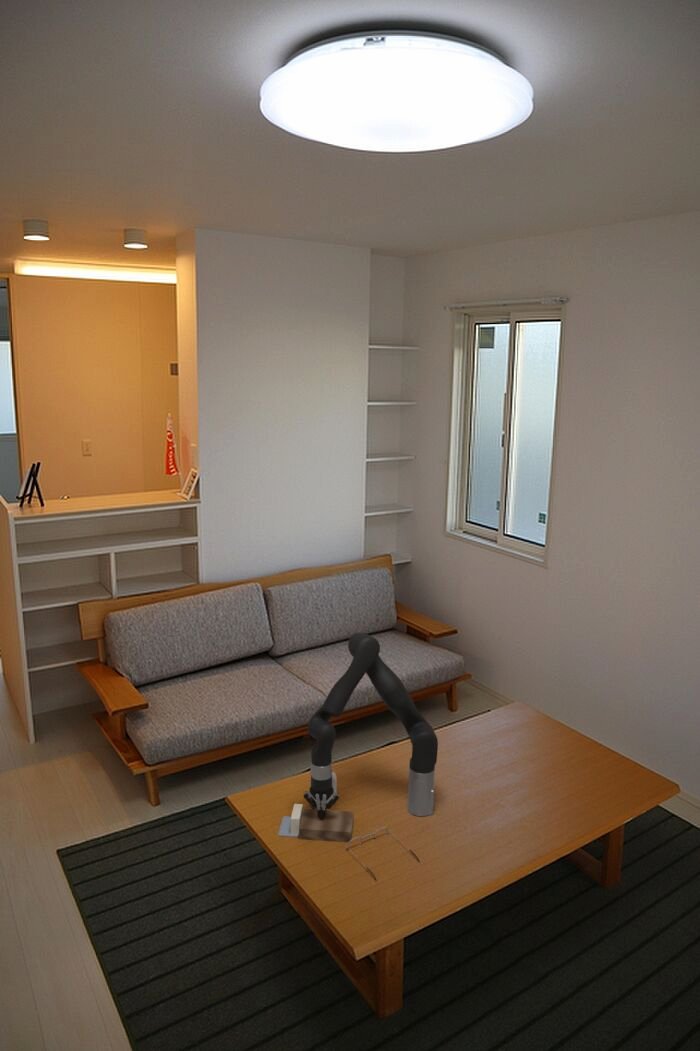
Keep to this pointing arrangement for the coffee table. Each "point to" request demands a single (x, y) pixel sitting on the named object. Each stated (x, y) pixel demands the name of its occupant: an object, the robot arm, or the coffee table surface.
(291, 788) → the coffee table surface
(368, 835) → the eyeglasses
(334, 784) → the photo printer
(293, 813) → the cream rectangular block
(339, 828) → the brown flat block
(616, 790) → the coffee table surface
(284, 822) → the mat
